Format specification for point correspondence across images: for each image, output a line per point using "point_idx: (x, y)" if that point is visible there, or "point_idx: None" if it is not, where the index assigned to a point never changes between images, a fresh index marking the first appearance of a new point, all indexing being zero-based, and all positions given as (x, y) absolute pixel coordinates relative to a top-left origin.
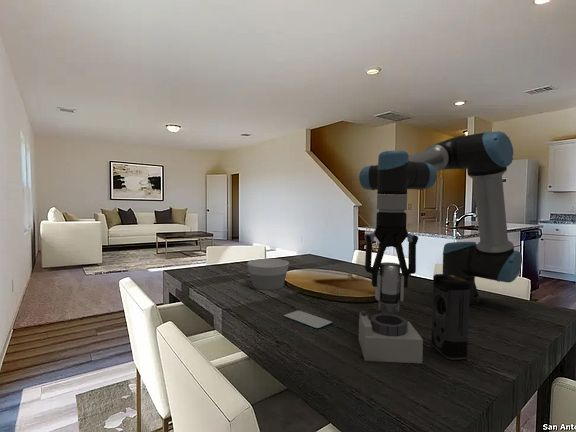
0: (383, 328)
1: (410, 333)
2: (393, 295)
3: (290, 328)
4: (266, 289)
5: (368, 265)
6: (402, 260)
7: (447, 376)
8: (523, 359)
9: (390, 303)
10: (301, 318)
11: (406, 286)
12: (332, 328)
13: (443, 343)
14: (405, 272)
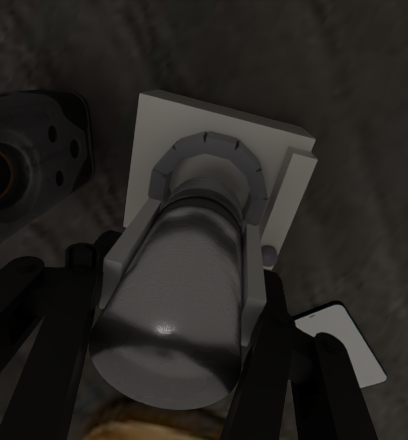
0: (248, 153)
1: (157, 145)
2: (196, 202)
3: (402, 319)
4: None
5: (341, 377)
6: (59, 348)
7: (124, 10)
8: None
9: (213, 190)
10: (352, 356)
11: (109, 233)
12: (296, 300)
13: (72, 120)
14: (83, 273)
